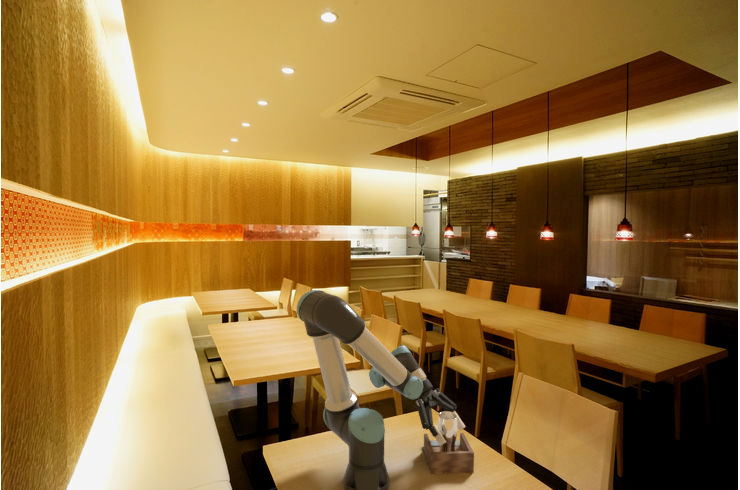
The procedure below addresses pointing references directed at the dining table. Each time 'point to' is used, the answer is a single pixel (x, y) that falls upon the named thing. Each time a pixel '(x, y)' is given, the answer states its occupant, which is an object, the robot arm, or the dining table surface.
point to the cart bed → (449, 457)
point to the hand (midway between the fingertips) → (453, 436)
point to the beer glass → (448, 430)
